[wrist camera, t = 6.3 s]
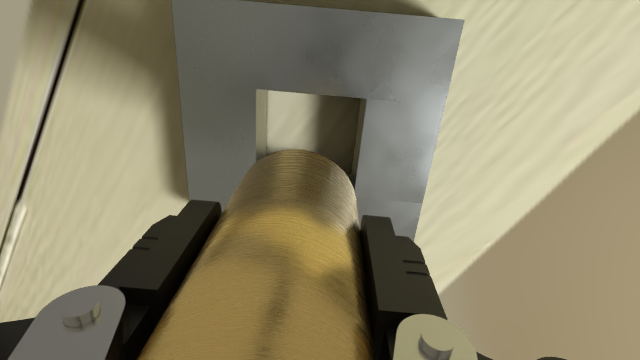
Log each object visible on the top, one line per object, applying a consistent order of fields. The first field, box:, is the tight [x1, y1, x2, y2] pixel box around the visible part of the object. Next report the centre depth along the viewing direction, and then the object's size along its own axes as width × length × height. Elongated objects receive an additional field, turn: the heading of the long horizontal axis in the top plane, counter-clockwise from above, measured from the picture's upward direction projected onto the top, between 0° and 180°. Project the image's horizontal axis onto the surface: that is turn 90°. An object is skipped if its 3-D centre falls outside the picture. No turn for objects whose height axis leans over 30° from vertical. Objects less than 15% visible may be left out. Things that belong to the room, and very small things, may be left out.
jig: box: [171, 0, 464, 242], centre depth 18 cm, size 12×12×3 cm
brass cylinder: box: [137, 150, 375, 360], centre depth 8 cm, size 4×4×8 cm
